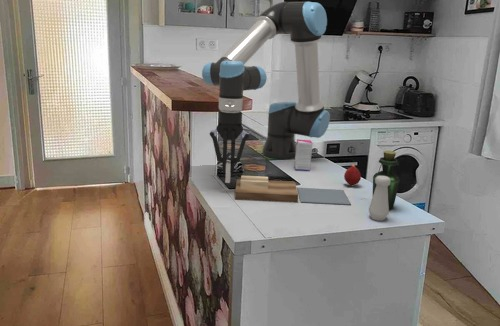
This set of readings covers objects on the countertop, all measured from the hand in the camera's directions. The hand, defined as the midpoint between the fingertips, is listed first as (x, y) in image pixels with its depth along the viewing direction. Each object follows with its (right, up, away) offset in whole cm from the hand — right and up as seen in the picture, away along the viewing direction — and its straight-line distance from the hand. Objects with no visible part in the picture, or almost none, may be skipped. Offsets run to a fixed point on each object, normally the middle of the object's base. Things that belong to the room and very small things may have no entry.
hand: (227, 181), depth 154 cm
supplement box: (+28, +4, +32) cm, 42 cm away
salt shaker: (+45, -11, -16) cm, 49 cm away
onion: (+44, -2, +13) cm, 46 cm away
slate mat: (+32, -5, +1) cm, 32 cm away
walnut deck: (+13, -4, +1) cm, 13 cm away
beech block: (+9, -2, 0) cm, 9 cm away
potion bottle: (+49, -8, -6) cm, 50 cm away
